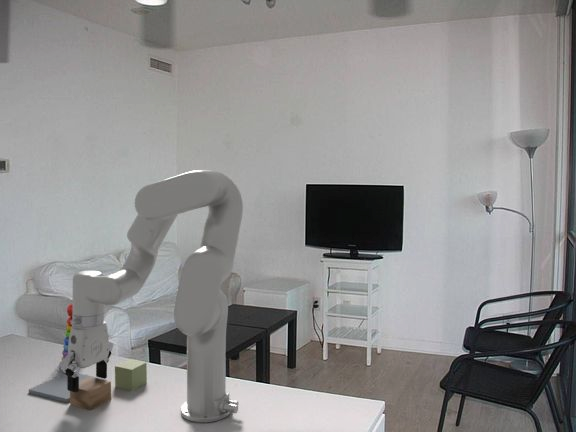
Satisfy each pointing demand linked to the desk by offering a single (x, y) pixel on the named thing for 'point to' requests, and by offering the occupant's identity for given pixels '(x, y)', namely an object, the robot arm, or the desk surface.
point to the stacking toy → (68, 327)
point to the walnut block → (91, 393)
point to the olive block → (130, 374)
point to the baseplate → (56, 388)
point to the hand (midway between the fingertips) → (87, 384)
